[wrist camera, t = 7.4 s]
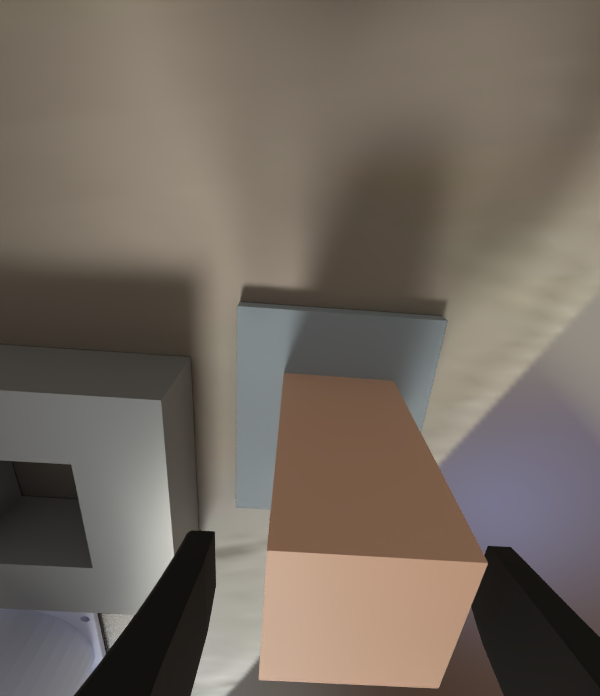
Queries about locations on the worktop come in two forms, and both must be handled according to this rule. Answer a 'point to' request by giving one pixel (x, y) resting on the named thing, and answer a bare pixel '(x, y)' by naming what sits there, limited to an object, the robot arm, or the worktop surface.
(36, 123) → the worktop surface
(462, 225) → the worktop surface
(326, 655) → the plug
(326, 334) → the mat
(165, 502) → the plate
